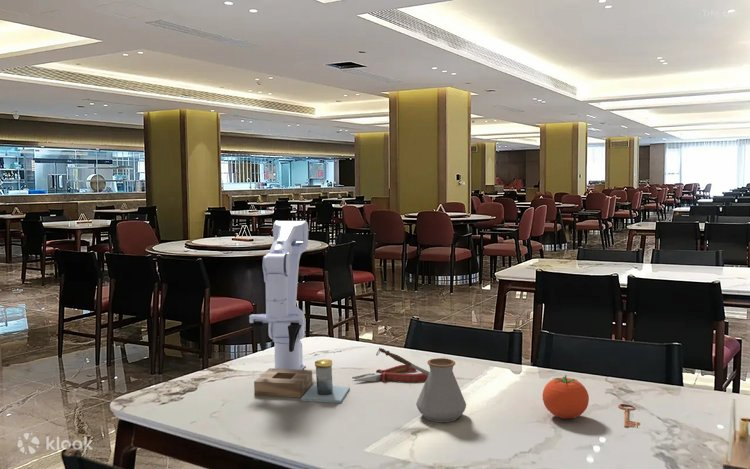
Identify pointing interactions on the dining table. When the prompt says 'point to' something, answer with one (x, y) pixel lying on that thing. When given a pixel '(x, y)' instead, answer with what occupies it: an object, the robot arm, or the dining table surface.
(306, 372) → the block
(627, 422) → the key
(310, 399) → the rubber mat
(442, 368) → the coffee pot
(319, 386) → the steel key peg
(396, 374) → the pliers
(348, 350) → the dining table surface
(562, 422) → the dining table surface
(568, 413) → the tomato
